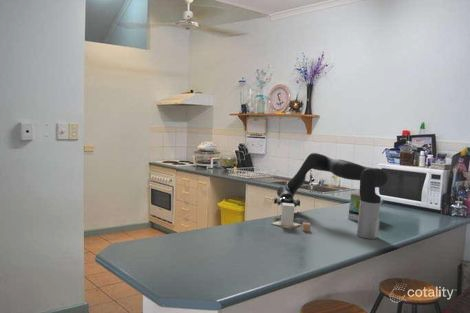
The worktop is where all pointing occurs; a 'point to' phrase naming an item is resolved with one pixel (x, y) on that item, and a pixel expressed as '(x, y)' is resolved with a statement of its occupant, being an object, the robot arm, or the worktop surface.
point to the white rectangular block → (287, 214)
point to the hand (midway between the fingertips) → (287, 204)
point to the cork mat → (286, 225)
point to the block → (306, 226)
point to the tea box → (354, 206)
